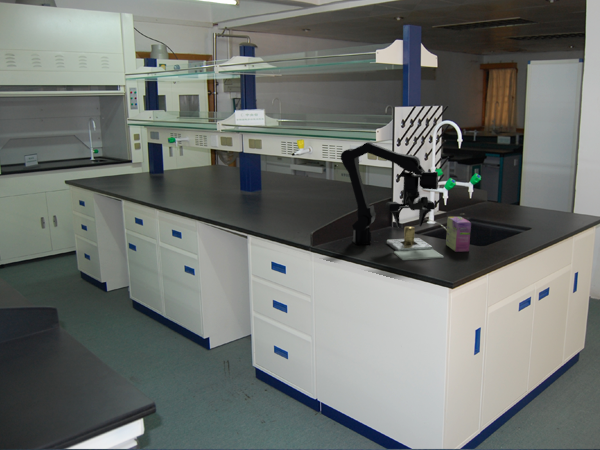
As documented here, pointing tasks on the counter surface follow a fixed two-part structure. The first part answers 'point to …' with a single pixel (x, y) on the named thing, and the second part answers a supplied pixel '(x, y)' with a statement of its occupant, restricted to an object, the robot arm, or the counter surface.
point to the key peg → (409, 235)
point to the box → (458, 234)
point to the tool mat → (418, 254)
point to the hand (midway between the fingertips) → (409, 226)
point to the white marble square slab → (399, 245)
